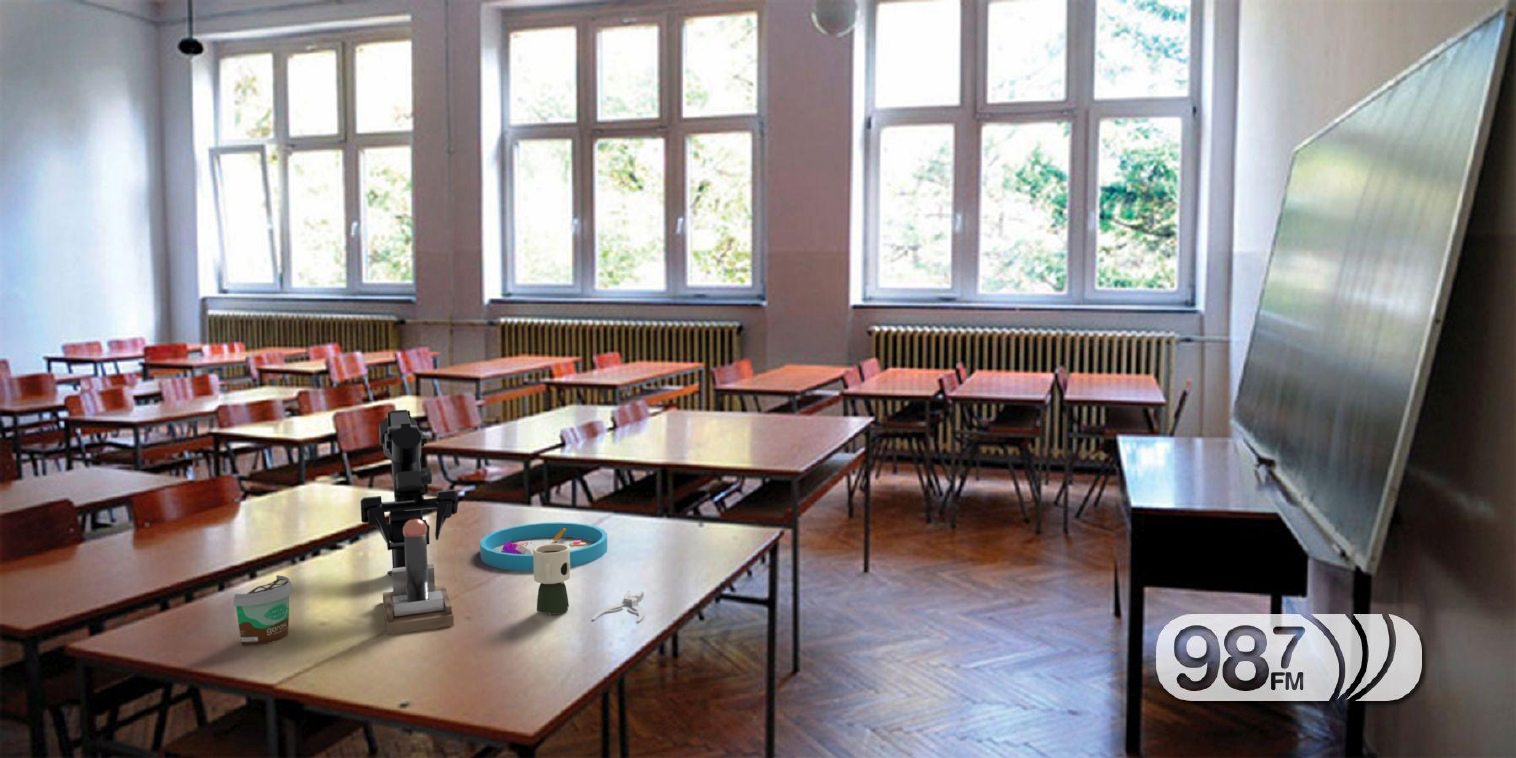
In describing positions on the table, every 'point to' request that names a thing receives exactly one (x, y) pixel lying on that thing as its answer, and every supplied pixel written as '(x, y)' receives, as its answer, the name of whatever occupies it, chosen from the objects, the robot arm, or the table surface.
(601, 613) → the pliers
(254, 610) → the food container
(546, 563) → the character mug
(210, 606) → the table surface
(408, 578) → the handle
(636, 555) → the table surface
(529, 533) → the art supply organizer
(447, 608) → the board
